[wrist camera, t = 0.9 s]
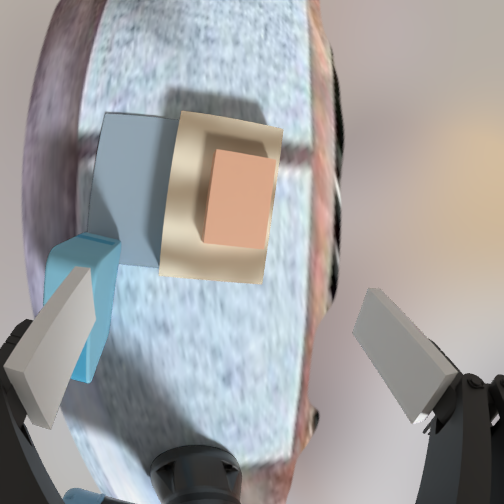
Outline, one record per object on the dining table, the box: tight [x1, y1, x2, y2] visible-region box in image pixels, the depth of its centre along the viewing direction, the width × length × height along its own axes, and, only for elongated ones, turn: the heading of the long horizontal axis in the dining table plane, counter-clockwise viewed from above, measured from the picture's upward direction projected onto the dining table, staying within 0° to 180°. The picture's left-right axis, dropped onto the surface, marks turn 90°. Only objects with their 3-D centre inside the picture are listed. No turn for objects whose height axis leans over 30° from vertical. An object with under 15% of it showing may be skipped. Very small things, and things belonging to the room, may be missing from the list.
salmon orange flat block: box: [202, 149, 276, 249], centre depth 29 cm, size 9×6×2 cm, turn 171°
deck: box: [159, 111, 283, 284], centre depth 32 cm, size 17×11×4 cm, turn 171°
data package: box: [43, 232, 121, 383], centre depth 26 cm, size 12×4×12 cm, turn 164°
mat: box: [87, 114, 180, 268], centre depth 31 cm, size 17×9×1 cm, turn 171°
